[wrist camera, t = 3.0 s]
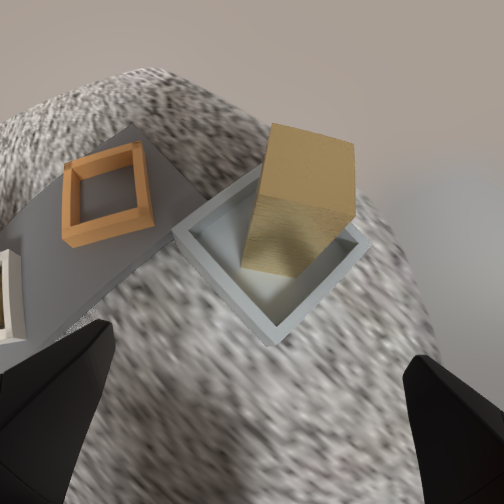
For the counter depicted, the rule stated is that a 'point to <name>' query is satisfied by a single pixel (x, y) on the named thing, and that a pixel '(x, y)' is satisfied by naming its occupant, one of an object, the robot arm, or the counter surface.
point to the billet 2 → (299, 200)
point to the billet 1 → (1, 303)
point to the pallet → (94, 263)
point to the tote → (255, 282)
